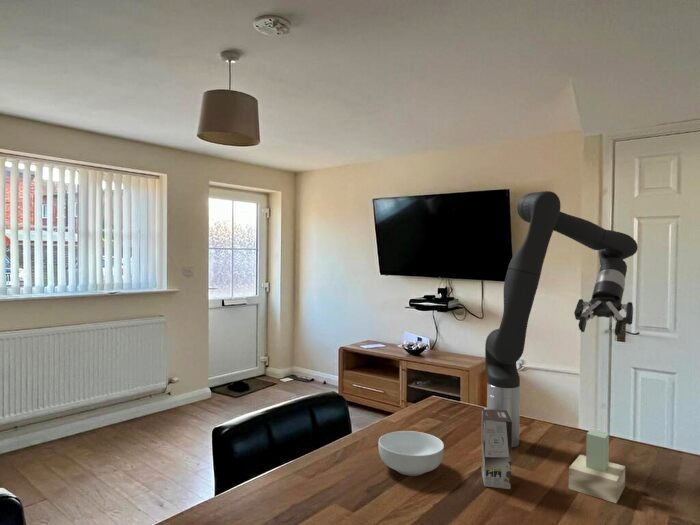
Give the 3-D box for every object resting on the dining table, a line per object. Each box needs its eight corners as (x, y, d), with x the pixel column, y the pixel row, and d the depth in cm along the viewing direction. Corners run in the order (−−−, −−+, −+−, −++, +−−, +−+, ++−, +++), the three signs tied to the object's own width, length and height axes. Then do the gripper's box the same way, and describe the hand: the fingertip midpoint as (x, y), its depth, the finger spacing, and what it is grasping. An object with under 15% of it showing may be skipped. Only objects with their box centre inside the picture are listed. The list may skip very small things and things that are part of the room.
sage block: (586, 467, 110) (586, 433, 110) (590, 461, 114) (590, 429, 113) (604, 472, 108) (605, 438, 108) (608, 466, 111) (609, 433, 111)
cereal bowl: (456, 468, 120) (456, 441, 120) (419, 492, 108) (419, 462, 108) (403, 449, 132) (403, 425, 132) (364, 468, 120) (365, 441, 120)
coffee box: (511, 489, 109) (512, 421, 109) (483, 487, 111) (484, 419, 110) (506, 472, 118) (507, 409, 118) (480, 469, 120) (481, 407, 119)
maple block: (568, 488, 110) (568, 467, 110) (579, 473, 118) (580, 454, 118) (616, 503, 104) (616, 481, 104) (624, 486, 111) (625, 466, 111)
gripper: (580, 278, 138) (568, 320, 130) (635, 280, 129) (627, 326, 120) (584, 295, 142) (573, 337, 134) (638, 298, 133) (630, 343, 124)
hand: (599, 332), depth 127 cm, fingers open, 8 cm apart
